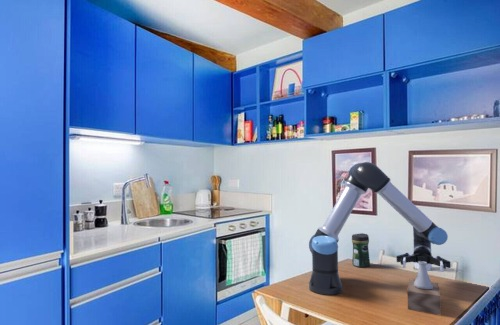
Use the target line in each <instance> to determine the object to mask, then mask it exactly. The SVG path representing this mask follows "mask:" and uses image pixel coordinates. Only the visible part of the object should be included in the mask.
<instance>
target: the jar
mask: <svg viewBox="0 0 500 325" xmlns="http://www.w3.org/2000/svg"><path fill="white" fill-rule="evenodd" d="M413 263H414V269H417V270H419V263H417V262H416V263H415V262H413ZM432 265H433V264H427V265H426V269H427V272H429V271H431V270H432Z"/></svg>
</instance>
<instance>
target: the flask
mask: <svg viewBox="0 0 500 325" xmlns="http://www.w3.org/2000/svg"><path fill="white" fill-rule="evenodd" d="M418 263H419V269H418V271H417V274H416V276H415V279H414V280H415V282H414V286H415V287H417V288H420V289H433V286H432V283H433V282H432V281H431V278H430V275H429V273H428V270H427V269H426V264H427V262H424V261H418ZM431 282H432V283H431Z"/></svg>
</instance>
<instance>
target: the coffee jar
mask: <svg viewBox="0 0 500 325" xmlns="http://www.w3.org/2000/svg"><path fill="white" fill-rule="evenodd" d="M351 242H352V266H354V267H356V268H366V267H369V266H371V260H370V252H369V251H370V250H369V242H370V238H369V235H368V234H367V233H363V232H362V233H354V234H352V235H351Z"/></svg>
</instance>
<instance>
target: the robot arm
mask: <svg viewBox="0 0 500 325" xmlns="http://www.w3.org/2000/svg"><path fill="white" fill-rule="evenodd" d="M344 185H345V187H344V188H343V190H342V192H341V194H340V195H339V198H338V199H337V201H336V202H335V204H334V206H333V208H332V210H331V211H330V213H329V215H328V217H327V218H326V220H325V222H324V224H323V226H319V227H318V228H317V230H316V231H315V233H313V235H312V236H311V237H310V239H309V242H308V249H309V251H310V254H311V259H312V261H311V262H312V264H311V266H312V271H311V275H310V279H309V282H308V289H309V291H311V292H312V293H314V294H319V295H324V296H325V295H328V296H329V295H330V296H331V295H332V296H333V295H338V294H340V293H342V292H343V284H342V280H341V278H340V277H341V276H340V274H339V254H338V253H339V245H338V243H339V240H340V238H339V234H340V233H341V231H342V229H343V228H344V226H345V224H346V222H347V220H348V218H349V216H350V215H351V213H352V211H353V210H354V208H355V207H356V205H357V202H358V201H359V200H360V197H361V196H362V195H364V194H367V192H368V190H370V191H371V192H373V194H378V195H379V196H380V197H381V198H382V199H383V200H385V202H387V204H388V205H390V207H392V208H393V209H394V210H395V211H396V212H397V213H398V214H399V215H400V216H401V217H403V219H405V221H407V223H409V224H410V225H411V226H412V232H413V233H412V234H413V253H412V254H410V253H409V252H405V253H403V254H399V255H396V263H400V265H402V268H406V264H407V263H414V262H415V263H416V262H417V263H418V261H424V262H427V264H432V265H435V266H437V267H439V269H440V273H444V270H445V269H447V268H448V269H451V261H450V260H447V259H445V258H443V257H441V256H439V255H437V256H435V257H434V256H433V255H432V245H437V246H441V245H444V244H446V242H448V237H449V236H448V232H447V231H445V230H444V229H443V228H442V227H439V226H438V225H437V224H435V223H434V222H433V221H432V220H431V219H430V218H429V217H428V216H427V215H426V214H425V213H424V212H423V211H421V209H420V208H419V207H418V206H416V205H415V204H414V203H413V201H411V200H410V199H409V198H408V197H407V196H406V195H405V194H403V192H401V191H400V190H399V189H398V187H396V186H395V185H394V184H393V183H392V182H391V178H390V177H389V176H388V175H387V174H386V173H385V172H384V171H383V170H382V169H381V168H380V167H378V165H376V164H375V163H373V162H370V161H365V162H357V163H355V164H354V165H351V167H350V168H349V170H348V174H347V177H346V179H345V180H344ZM427 264H426V265H427Z"/></svg>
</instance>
